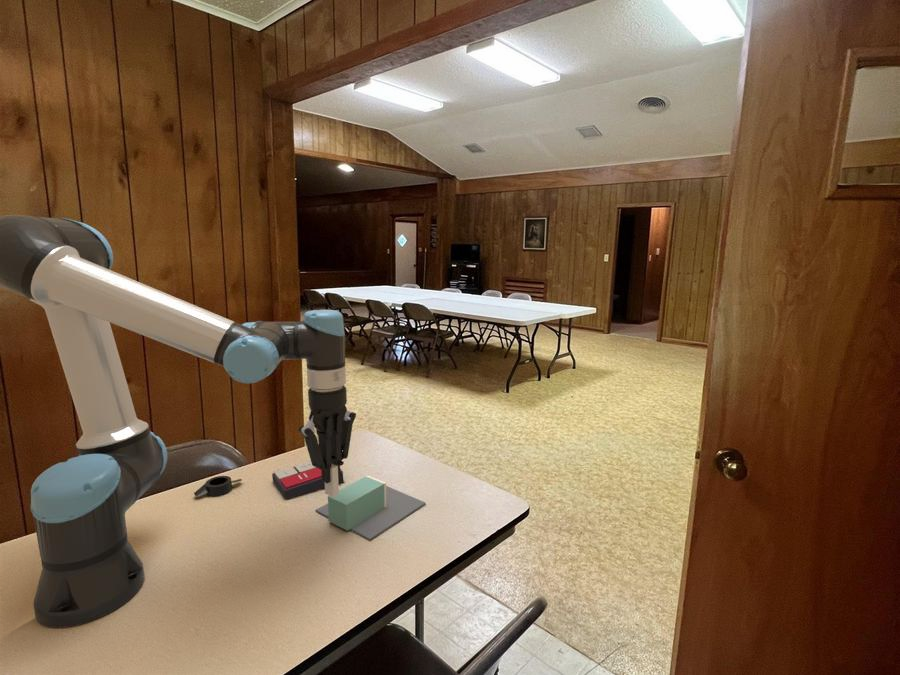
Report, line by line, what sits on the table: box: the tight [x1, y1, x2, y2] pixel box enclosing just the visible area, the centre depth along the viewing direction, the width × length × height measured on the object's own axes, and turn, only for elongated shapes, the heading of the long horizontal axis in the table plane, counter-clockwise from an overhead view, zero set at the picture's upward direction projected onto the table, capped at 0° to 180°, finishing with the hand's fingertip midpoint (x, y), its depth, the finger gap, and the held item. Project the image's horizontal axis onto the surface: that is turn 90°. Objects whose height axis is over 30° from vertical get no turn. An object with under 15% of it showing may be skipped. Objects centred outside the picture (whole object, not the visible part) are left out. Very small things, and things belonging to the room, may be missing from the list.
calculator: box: [271, 459, 345, 501], centre depth 120 cm, size 11×4×15 cm
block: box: [327, 474, 387, 531], centre depth 105 cm, size 6×6×12 cm
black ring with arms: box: [193, 475, 243, 498], centre depth 116 cm, size 8×10×3 cm
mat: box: [315, 485, 427, 542], centre depth 109 cm, size 18×18×1 cm
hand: (331, 494), depth 98 cm, fingers closed
